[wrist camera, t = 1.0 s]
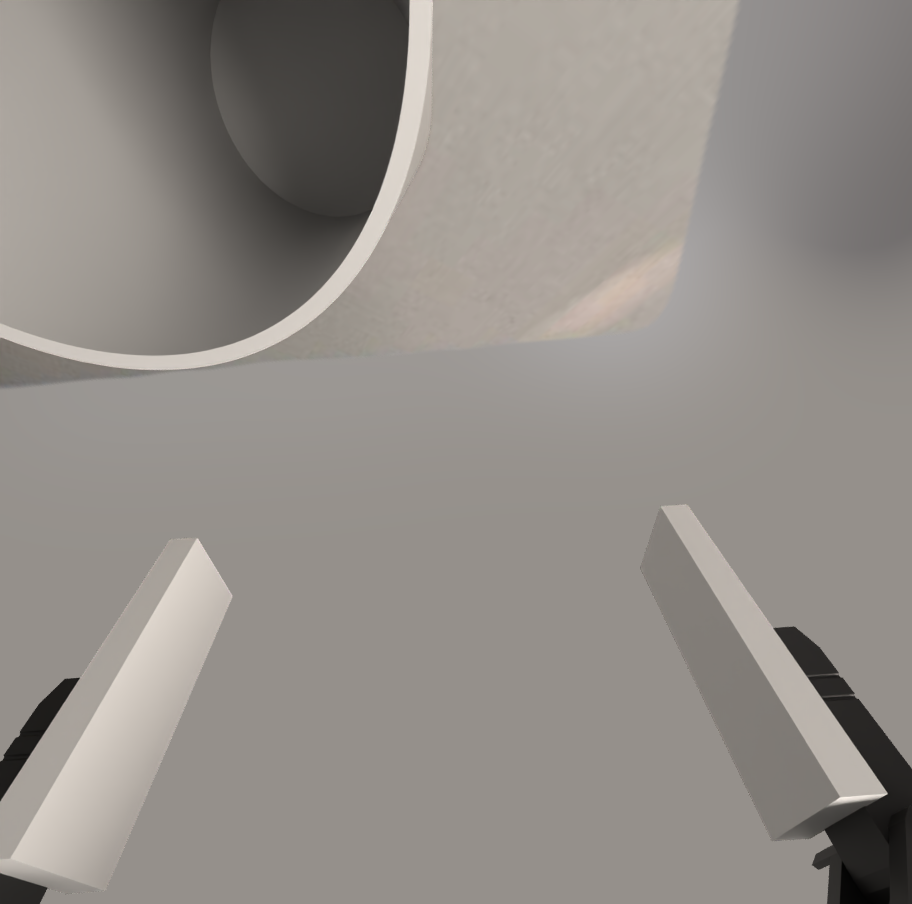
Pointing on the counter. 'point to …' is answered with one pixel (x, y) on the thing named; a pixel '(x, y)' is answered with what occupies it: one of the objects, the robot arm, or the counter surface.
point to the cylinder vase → (198, 168)
